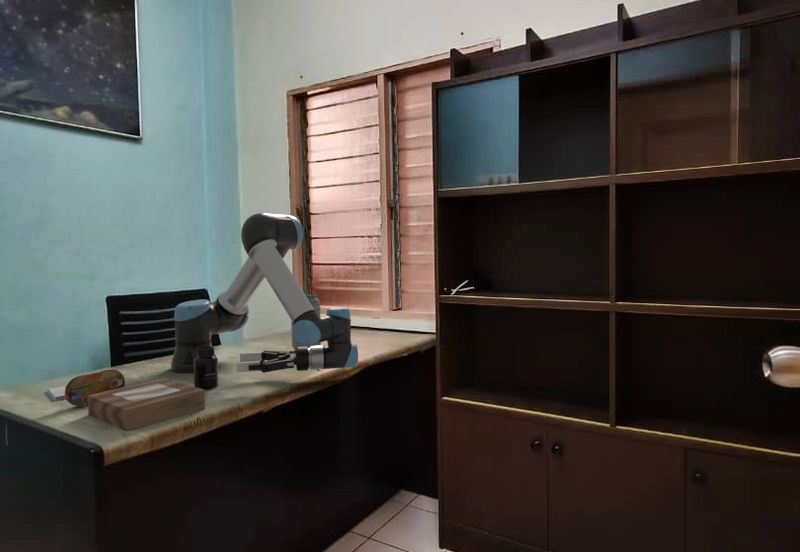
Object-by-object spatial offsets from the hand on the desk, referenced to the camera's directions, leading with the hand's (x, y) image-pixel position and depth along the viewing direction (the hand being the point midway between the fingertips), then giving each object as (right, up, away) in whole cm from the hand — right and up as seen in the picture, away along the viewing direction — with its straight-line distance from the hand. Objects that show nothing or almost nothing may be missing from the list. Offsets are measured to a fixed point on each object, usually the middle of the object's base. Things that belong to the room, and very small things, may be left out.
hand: (238, 362), depth 154 cm
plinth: (-16, -9, -24) cm, 30 cm away
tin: (-34, -9, -16) cm, 39 cm away
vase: (+12, -4, +50) cm, 51 cm away
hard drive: (-48, -9, -7) cm, 49 cm away
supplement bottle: (-9, -7, -2) cm, 12 cm away
